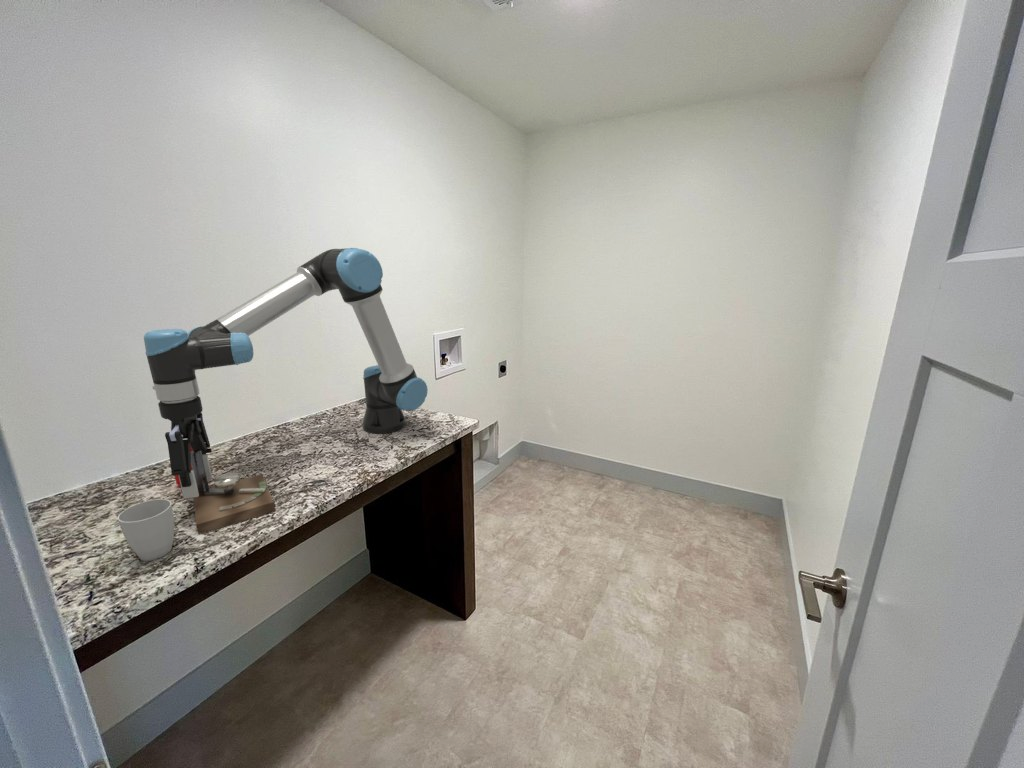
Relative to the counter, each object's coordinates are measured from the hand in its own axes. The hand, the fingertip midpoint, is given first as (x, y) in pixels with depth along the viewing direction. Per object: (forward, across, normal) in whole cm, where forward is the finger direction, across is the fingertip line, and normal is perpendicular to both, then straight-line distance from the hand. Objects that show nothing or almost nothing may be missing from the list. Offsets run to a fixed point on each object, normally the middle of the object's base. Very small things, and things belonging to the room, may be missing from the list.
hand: (198, 487), depth 99 cm
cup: (+5, +17, -3) cm, 18 cm away
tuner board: (+5, +2, +7) cm, 9 cm away
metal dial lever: (+3, 0, +6) cm, 7 cm away
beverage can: (+5, -14, -8) cm, 16 cm away
